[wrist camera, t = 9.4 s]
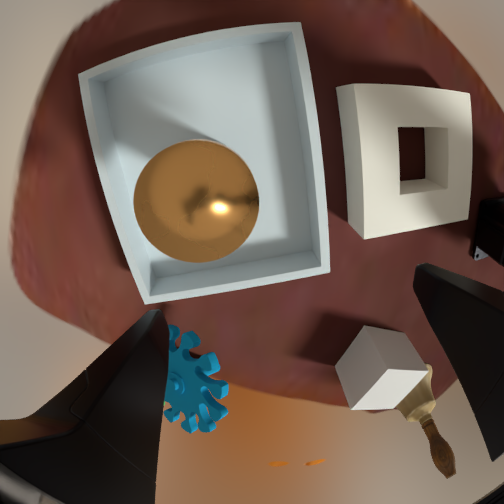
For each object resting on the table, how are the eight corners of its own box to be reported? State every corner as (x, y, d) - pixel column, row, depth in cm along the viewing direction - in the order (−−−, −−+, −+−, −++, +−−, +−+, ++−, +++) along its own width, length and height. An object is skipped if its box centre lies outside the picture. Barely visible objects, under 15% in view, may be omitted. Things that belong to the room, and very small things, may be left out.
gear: (172, 304, 21) (241, 421, 18) (221, 296, 26) (281, 391, 22) (120, 359, 26) (167, 446, 22) (163, 348, 31) (207, 424, 27)
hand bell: (441, 362, 31) (492, 448, 17) (408, 400, 35) (446, 482, 20) (403, 362, 30) (457, 467, 15) (368, 402, 33) (405, 500, 19)
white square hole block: (445, 92, 16) (469, 93, 14) (446, 206, 21) (467, 219, 18) (335, 87, 16) (353, 83, 14) (347, 223, 21) (363, 239, 18)
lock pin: (239, 123, 17) (247, 129, 9) (250, 189, 19) (268, 251, 11) (170, 138, 17) (119, 159, 9) (185, 202, 19) (153, 271, 11)
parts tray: (290, 34, 15) (300, 22, 12) (318, 252, 22) (330, 272, 19) (98, 78, 15) (78, 74, 12) (153, 281, 22) (145, 304, 19)
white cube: (363, 324, 26) (388, 368, 21) (404, 332, 27) (429, 370, 22) (334, 366, 28) (350, 410, 23) (374, 369, 30) (393, 408, 24)
